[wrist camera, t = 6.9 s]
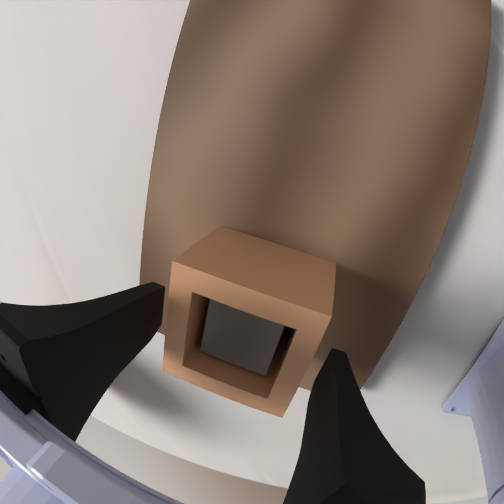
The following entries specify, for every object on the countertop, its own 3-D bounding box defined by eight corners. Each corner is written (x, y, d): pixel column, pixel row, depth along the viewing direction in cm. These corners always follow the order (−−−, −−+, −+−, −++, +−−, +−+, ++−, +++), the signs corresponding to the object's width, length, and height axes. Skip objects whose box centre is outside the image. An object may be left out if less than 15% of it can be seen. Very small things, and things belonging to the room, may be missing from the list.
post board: (480, 0, 8) (518, -37, 3) (352, 385, 17) (347, 448, 13) (227, -59, 10) (189, -104, 5) (150, 311, 20) (105, 352, 15)
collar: (336, 263, 13) (331, 316, 9) (299, 354, 16) (282, 417, 12) (220, 225, 14) (172, 260, 10) (202, 319, 17) (162, 370, 13)
